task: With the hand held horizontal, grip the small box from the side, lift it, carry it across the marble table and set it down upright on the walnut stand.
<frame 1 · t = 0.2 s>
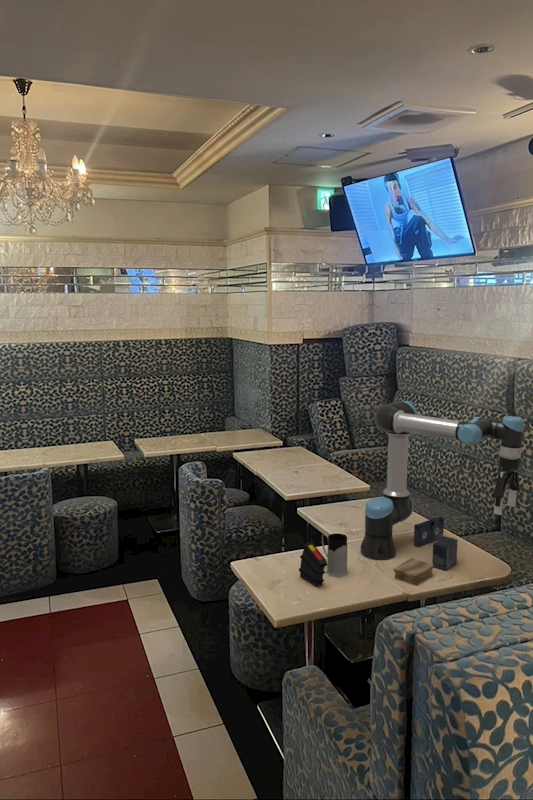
hand: (504, 510, 240), 27 cm above the table, tool pointing down, fingers open, 13 cm apart
walnut stand: (413, 576, 245), on the table
small box: (444, 565, 255), on the table
glass holder: (332, 570, 251), on the table
vhs cassette tape: (428, 542, 279), on the table
magazine: (312, 582, 240), on the table
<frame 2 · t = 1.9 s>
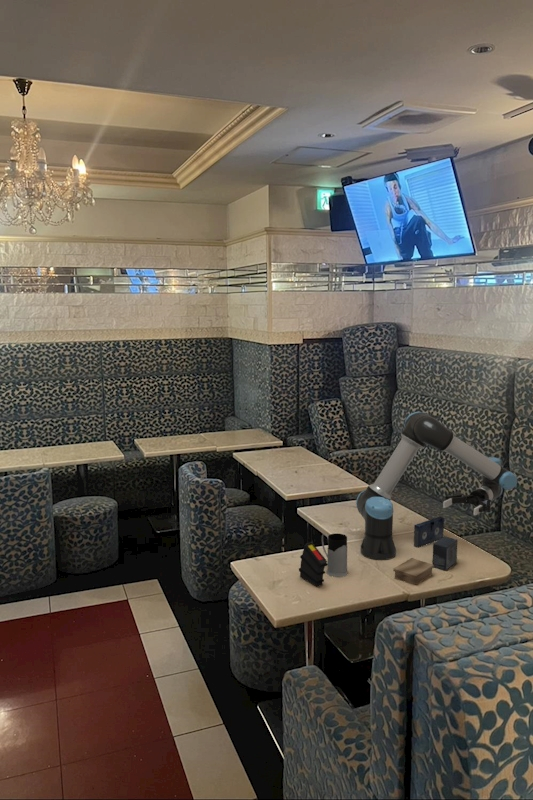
hand: (458, 508, 259), 22 cm above the table, tool horizontal, fingers open, 13 cm apart
nothing on the table moved.
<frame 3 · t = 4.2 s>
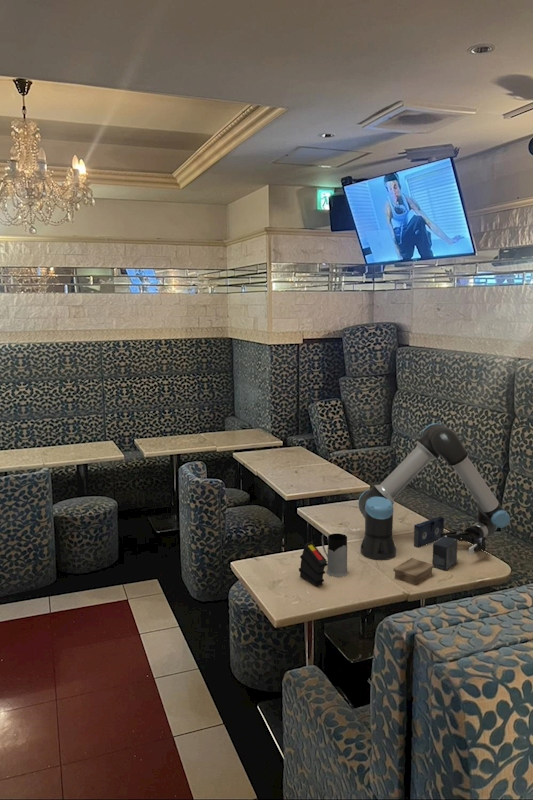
hand: (453, 547, 258), 6 cm above the table, tool horizontal, fingers open, 13 cm apart
nothing on the table moved.
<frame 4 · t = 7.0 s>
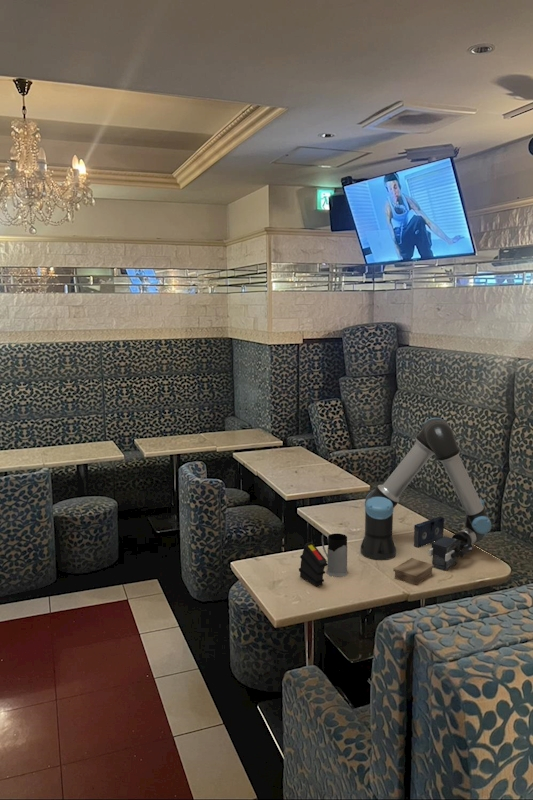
hand: (437, 555, 249), 6 cm above the table, tool horizontal, fingers closed on small box, 6 cm apart
small box: (444, 565, 255), on the table, touching gripper
everything else where it was.
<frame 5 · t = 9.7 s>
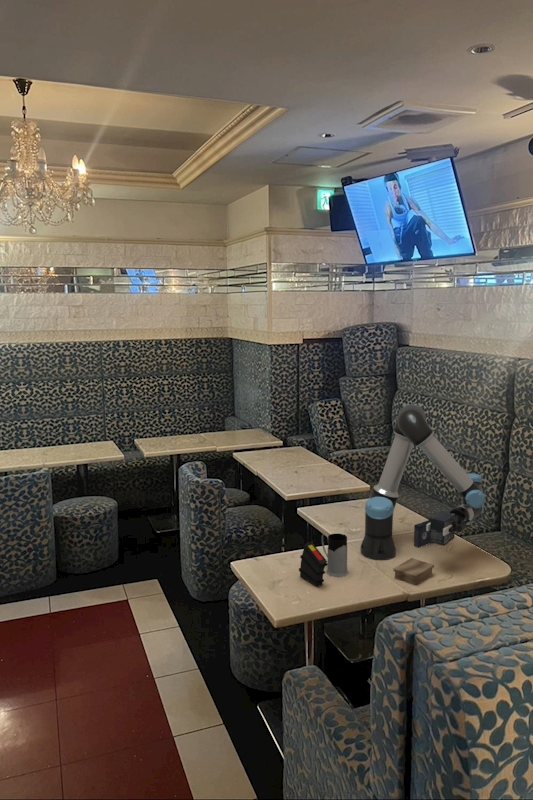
hand: (435, 530, 244), 18 cm above the table, tool horizontal, fingers closed on small box, 6 cm apart
small box: (441, 540, 250), point 12 cm above the table, touching gripper
everything else where it was.
when the fingers open (11 cm above the table, at t = 12.8 s): small box drops 1 cm, resting on walnut stand.
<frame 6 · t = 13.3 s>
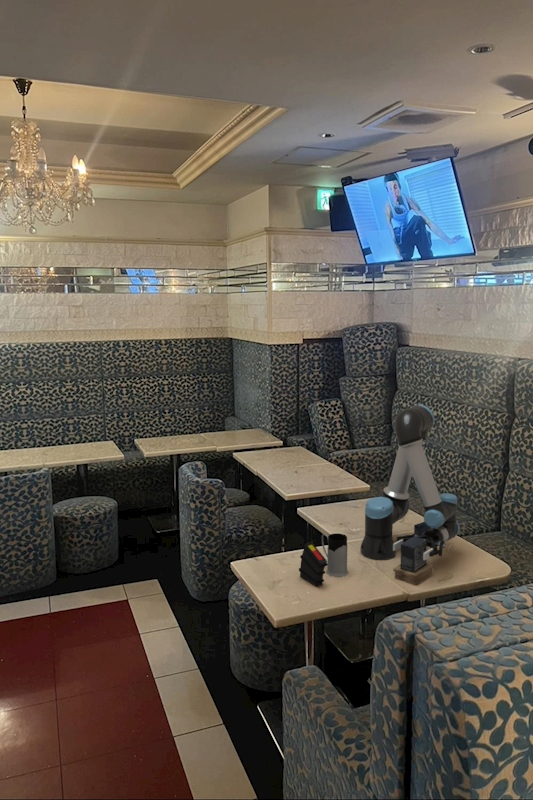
hand: (408, 552, 240), 11 cm above the table, tool horizontal, fingers open, 13 cm apart
small box: (413, 567, 244), point 4 cm above the table, touching walnut stand
everything else where it was.
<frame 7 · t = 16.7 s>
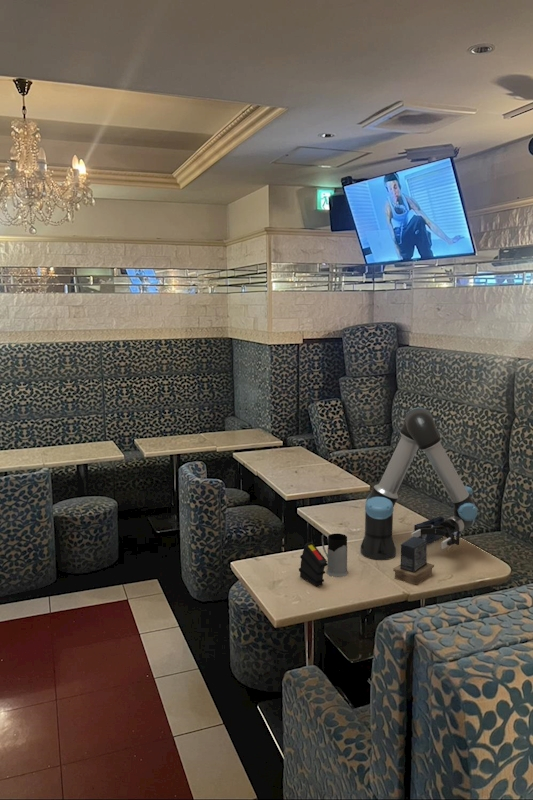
hand: (426, 541, 250), 12 cm above the table, tool horizontal, fingers open, 13 cm apart
nothing on the table moved.
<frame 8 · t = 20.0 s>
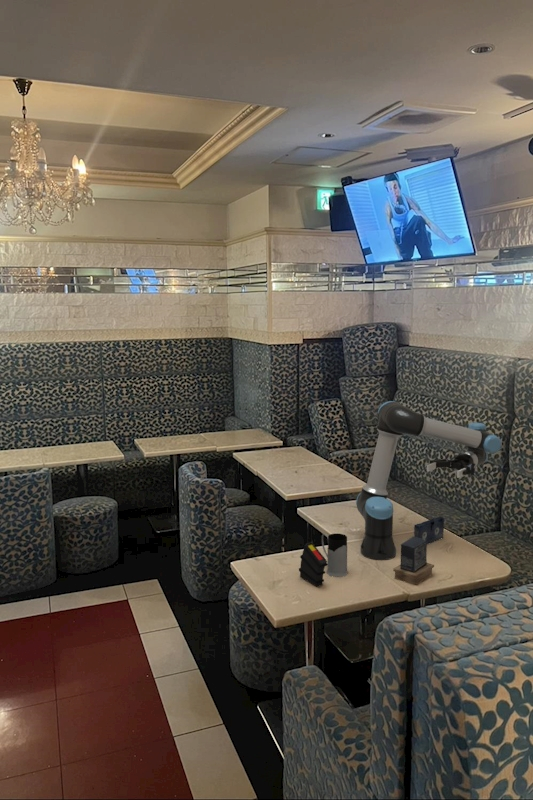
hand: (442, 471, 256), 38 cm above the table, tool horizontal, fingers open, 13 cm apart
nothing on the table moved.
at the end: small box inside the target area on the walnut stand (0.2 cm from its centre), point 3.8 cm above the walnut stand's base; small box tilted 0°; the gripper is holding nothing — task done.
